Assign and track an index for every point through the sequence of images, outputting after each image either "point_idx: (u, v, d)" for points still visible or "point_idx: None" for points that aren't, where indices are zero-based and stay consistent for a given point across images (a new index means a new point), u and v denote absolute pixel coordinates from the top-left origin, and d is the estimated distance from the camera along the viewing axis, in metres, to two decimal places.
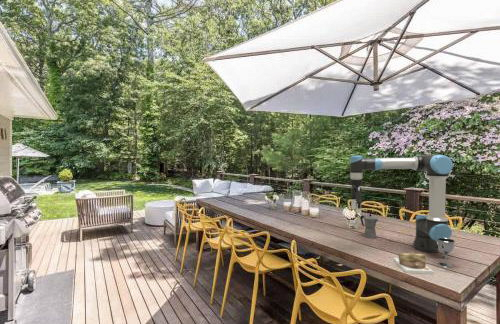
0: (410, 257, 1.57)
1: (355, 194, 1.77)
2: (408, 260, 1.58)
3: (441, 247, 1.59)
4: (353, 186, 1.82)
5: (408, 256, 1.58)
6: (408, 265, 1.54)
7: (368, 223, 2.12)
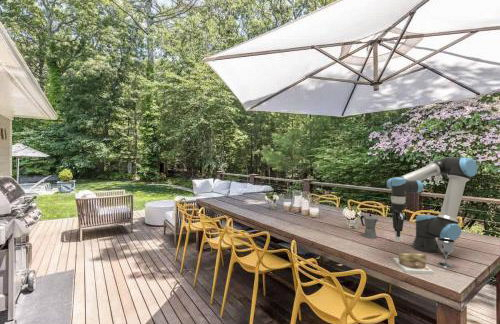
0: (410, 257, 1.57)
1: (396, 219, 1.65)
2: (408, 260, 1.58)
3: (441, 247, 1.59)
4: (394, 210, 1.69)
5: (408, 256, 1.58)
6: (408, 265, 1.54)
7: (368, 223, 2.12)
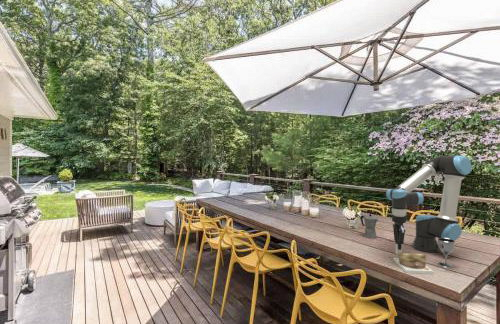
0: (410, 257, 1.57)
1: (397, 232, 1.64)
2: (408, 260, 1.58)
3: (441, 247, 1.59)
4: (395, 222, 1.68)
5: (408, 256, 1.58)
6: (408, 265, 1.54)
7: (368, 223, 2.12)
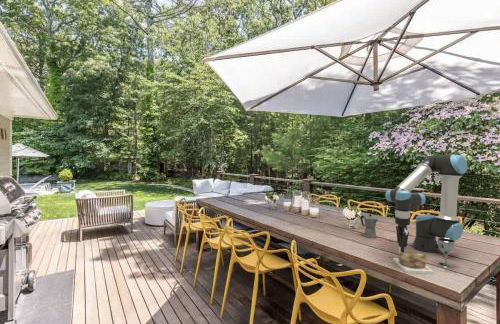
0: (410, 257, 1.57)
1: (400, 234, 1.59)
2: (408, 260, 1.58)
3: (441, 247, 1.59)
4: (398, 224, 1.63)
5: (408, 256, 1.58)
6: (408, 265, 1.54)
7: (368, 223, 2.12)
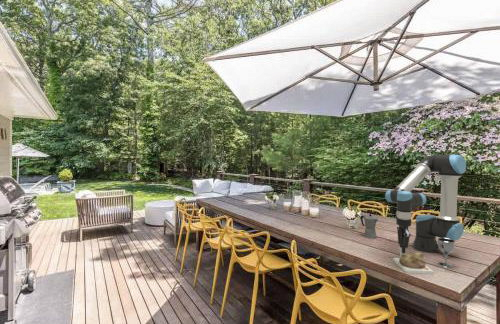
0: (412, 257, 1.57)
1: (401, 235, 1.58)
2: (410, 261, 1.57)
3: (441, 247, 1.59)
4: (399, 225, 1.61)
5: (410, 257, 1.57)
6: (414, 266, 1.53)
7: (368, 223, 2.12)
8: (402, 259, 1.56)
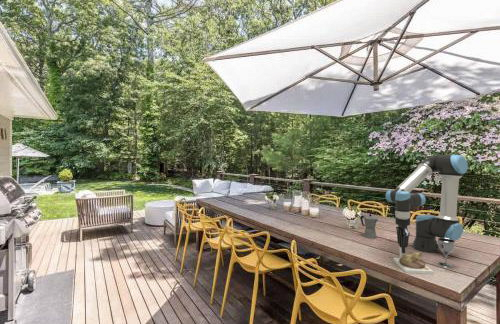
0: (412, 257, 1.57)
1: (400, 235, 1.60)
2: (411, 261, 1.57)
3: (441, 247, 1.59)
4: (398, 225, 1.63)
5: (411, 257, 1.56)
6: (415, 266, 1.52)
7: (368, 223, 2.12)
8: (403, 260, 1.56)
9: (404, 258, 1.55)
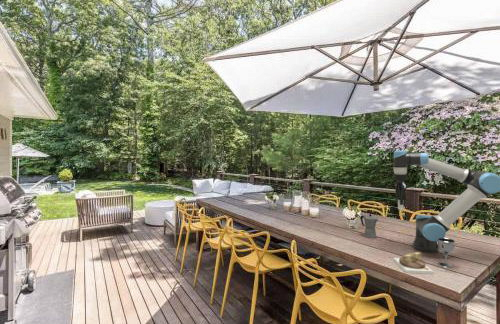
0: (412, 257, 1.57)
1: (399, 189, 1.79)
2: (411, 261, 1.57)
3: (441, 247, 1.59)
4: (396, 181, 1.83)
5: (411, 257, 1.56)
6: (415, 266, 1.52)
7: (368, 223, 2.12)
8: (403, 260, 1.56)
9: (404, 258, 1.55)
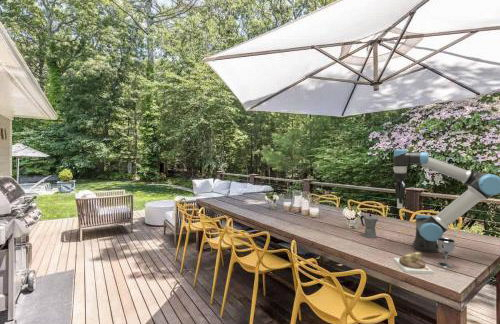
0: (412, 257, 1.57)
1: (398, 188, 1.81)
2: (411, 261, 1.57)
3: (441, 247, 1.59)
4: (396, 179, 1.84)
5: (411, 257, 1.56)
6: (415, 266, 1.52)
7: (368, 223, 2.12)
8: (403, 260, 1.56)
9: (404, 258, 1.55)
